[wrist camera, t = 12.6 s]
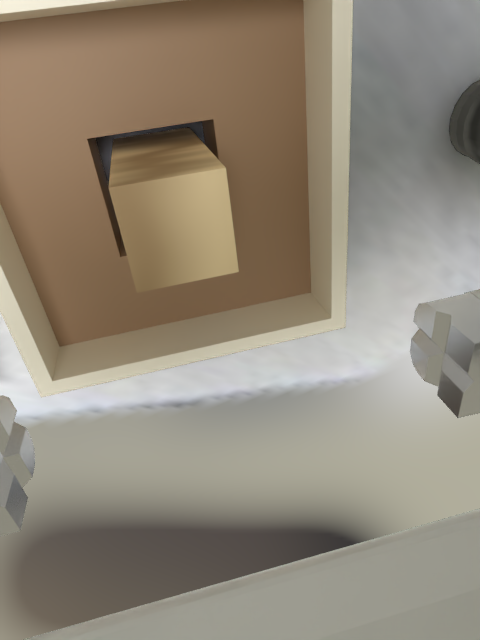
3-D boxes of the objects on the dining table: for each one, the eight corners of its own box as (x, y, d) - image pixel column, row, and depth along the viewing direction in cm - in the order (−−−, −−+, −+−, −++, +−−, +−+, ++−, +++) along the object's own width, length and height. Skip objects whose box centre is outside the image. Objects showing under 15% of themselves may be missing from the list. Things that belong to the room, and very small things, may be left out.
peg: (188, 126, 23) (226, 167, 15) (200, 200, 26) (238, 272, 17) (113, 138, 23) (108, 188, 15) (131, 213, 25) (136, 292, 17)
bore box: (289, -26, 21) (354, -57, 15) (301, 273, 30) (345, 327, 24) (-67, 14, 19) (-151, -3, 13) (58, 324, 27) (41, 397, 22)
